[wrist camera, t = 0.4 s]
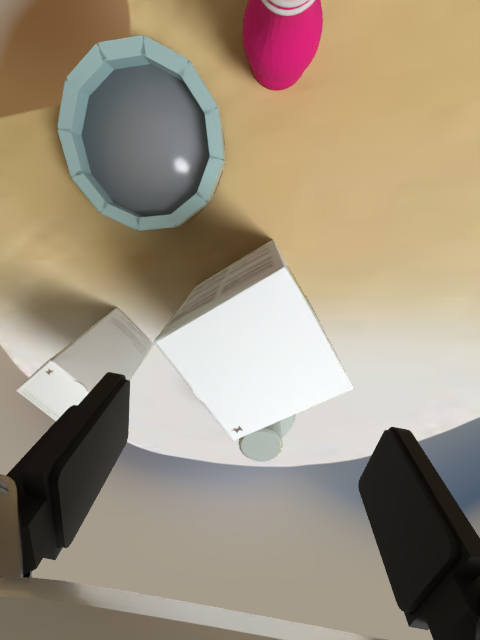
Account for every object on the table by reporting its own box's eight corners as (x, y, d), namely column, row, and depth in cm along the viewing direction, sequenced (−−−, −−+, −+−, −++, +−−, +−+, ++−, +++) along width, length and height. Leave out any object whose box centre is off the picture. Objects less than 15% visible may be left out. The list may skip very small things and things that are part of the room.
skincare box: (90, 328, 44) (9, 388, 30) (119, 304, 42) (47, 356, 28) (129, 366, 46) (71, 439, 32) (158, 344, 45) (110, 412, 30)
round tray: (96, 19, 30) (78, -1, 27) (250, 102, 32) (249, 92, 29) (63, 189, 37) (46, 188, 34) (193, 250, 39) (187, 254, 36)
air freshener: (300, 390, 46) (311, 437, 37) (281, 427, 49) (286, 478, 40) (237, 369, 45) (231, 411, 36) (221, 407, 49) (212, 455, 39)
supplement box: (318, 317, 41) (357, 391, 25) (241, 357, 45) (231, 445, 28) (273, 236, 37) (285, 262, 21) (192, 286, 41) (149, 341, 24)
